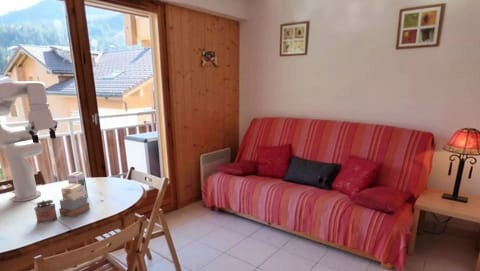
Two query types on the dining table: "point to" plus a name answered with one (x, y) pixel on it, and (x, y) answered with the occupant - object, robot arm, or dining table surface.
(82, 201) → the slate block
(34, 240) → the dining table surface
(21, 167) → the robot arm
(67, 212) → the walnut block
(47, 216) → the lighter
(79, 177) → the syrup box
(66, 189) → the birch cube
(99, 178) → the dining table surface
